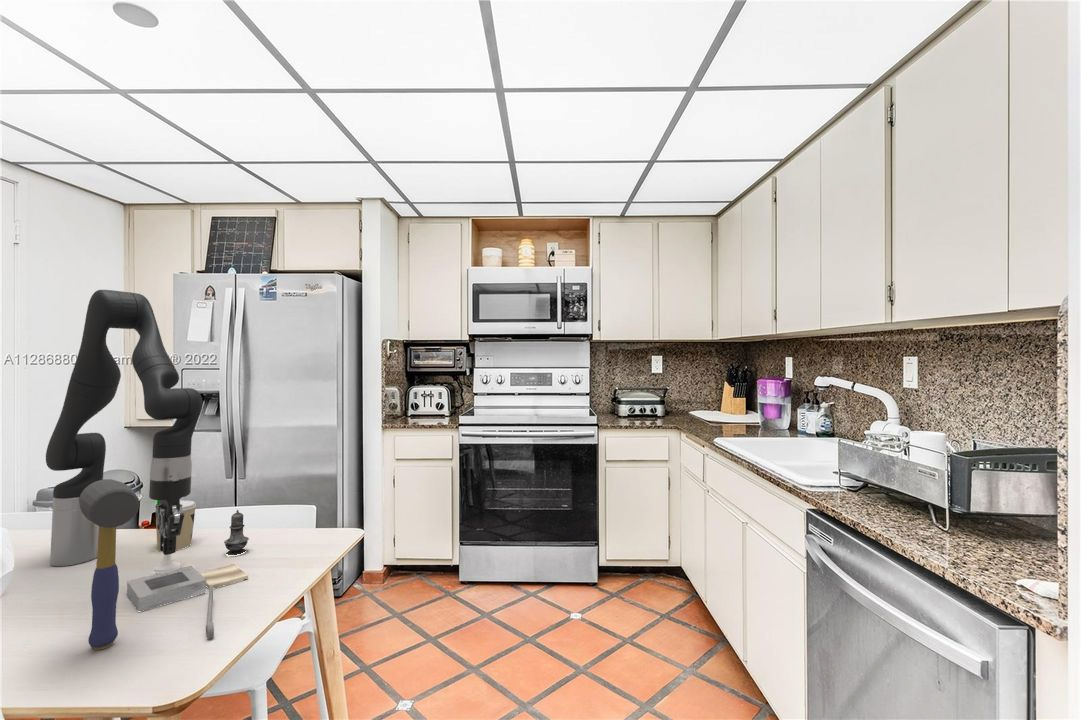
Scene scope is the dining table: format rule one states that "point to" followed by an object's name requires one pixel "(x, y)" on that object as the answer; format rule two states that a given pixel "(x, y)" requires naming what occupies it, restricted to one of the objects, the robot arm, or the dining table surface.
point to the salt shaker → (236, 535)
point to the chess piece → (166, 565)
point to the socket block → (165, 588)
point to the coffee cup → (183, 526)
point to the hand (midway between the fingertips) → (167, 551)
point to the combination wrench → (210, 616)
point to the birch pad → (223, 576)
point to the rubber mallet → (106, 552)
